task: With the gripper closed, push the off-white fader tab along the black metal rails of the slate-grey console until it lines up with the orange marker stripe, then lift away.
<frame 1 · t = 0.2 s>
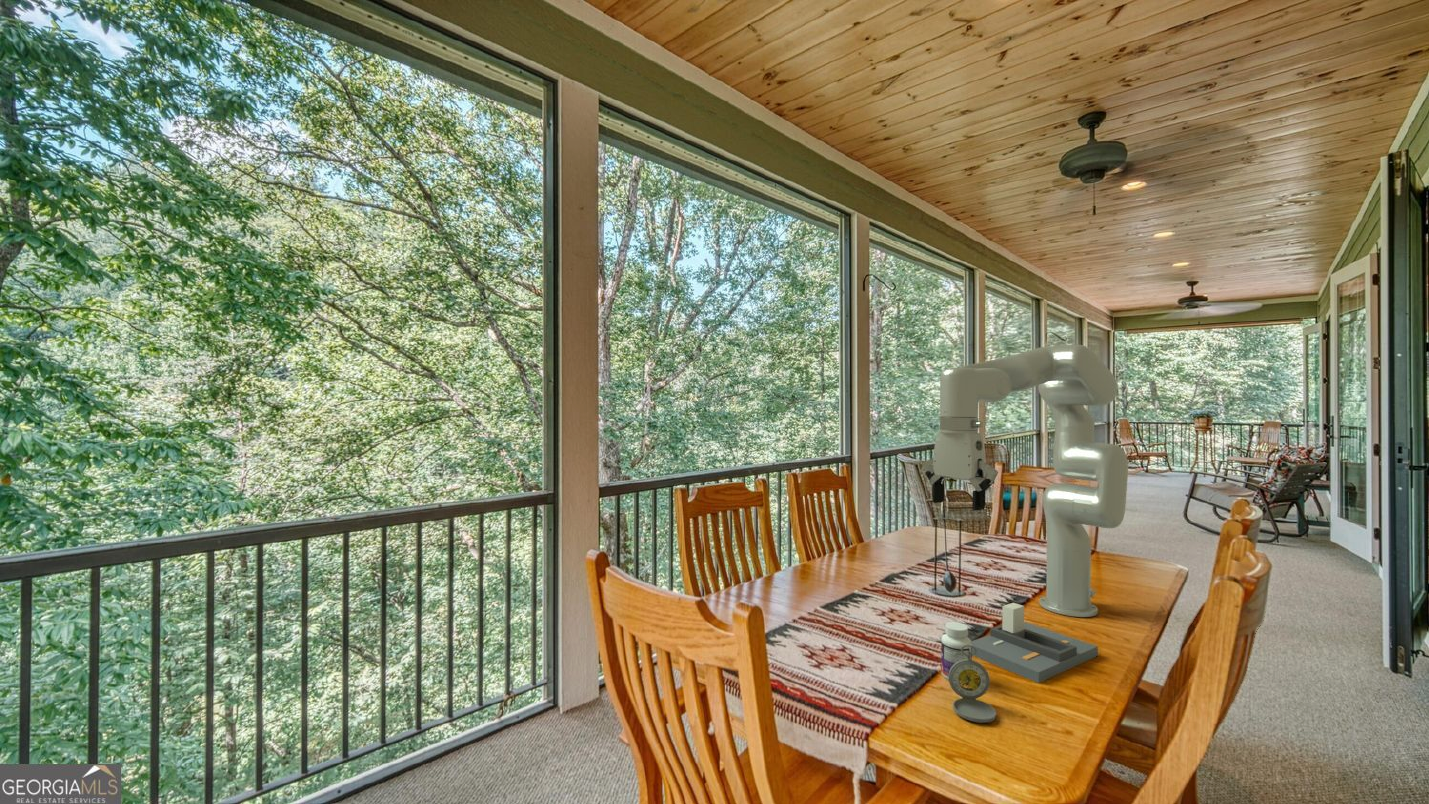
hand: (957, 505, 122), 30 cm above the table, tool pointing down, fingers open, 9 cm apart
console: (1031, 654, 119), on the table
fader: (1013, 621, 122), point 6 cm above the table, slide at -4.0 cm
pocket watch: (973, 711, 97), on the table
pill bottle: (956, 677, 109), on the table
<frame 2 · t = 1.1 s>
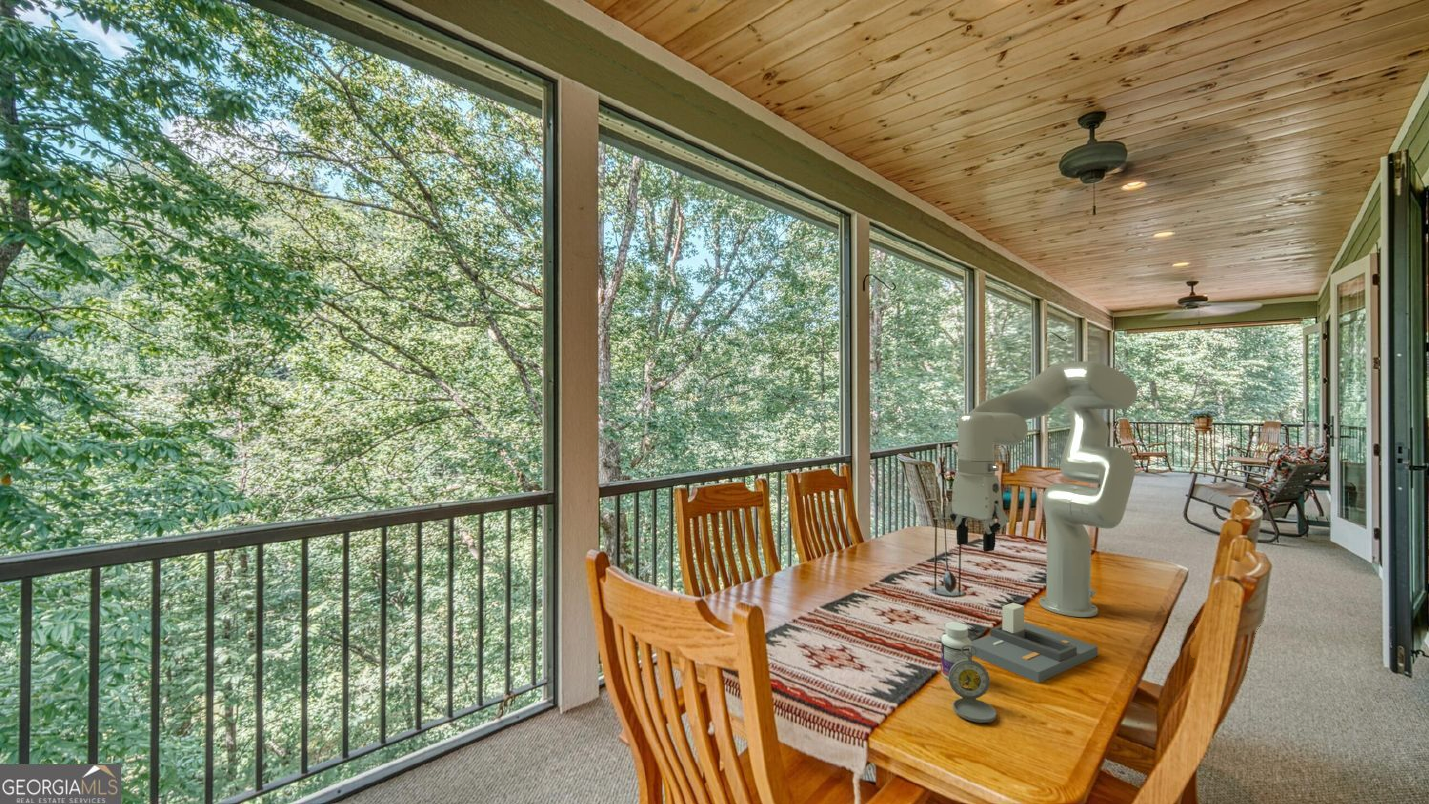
hand: (975, 546, 130), 20 cm above the table, tool pointing down, fingers open, 5 cm apart
nothing on the table moved.
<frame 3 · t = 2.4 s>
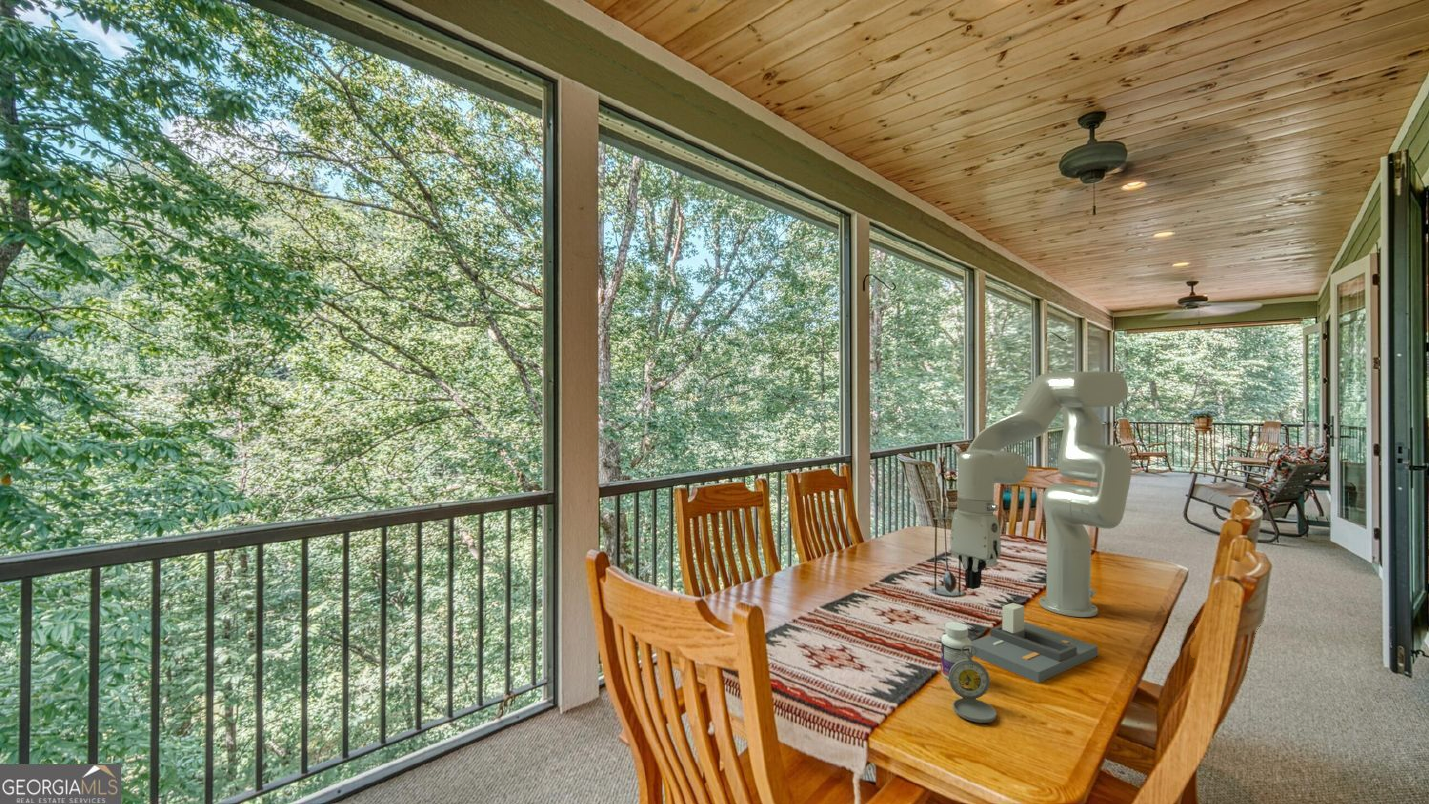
hand: (972, 587, 130), 10 cm above the table, tool pointing down, fingers closed
nothing on the table moved.
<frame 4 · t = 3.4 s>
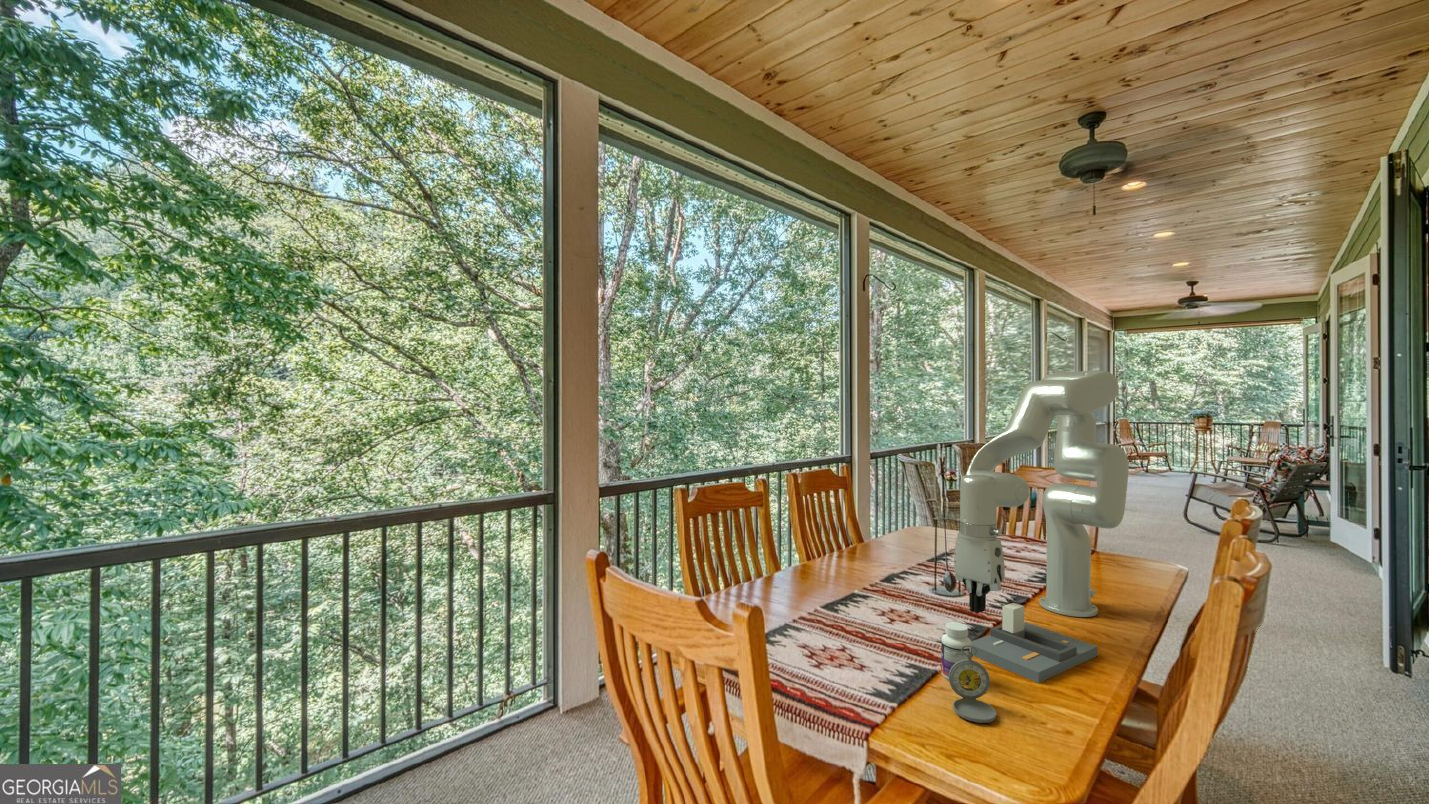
hand: (977, 610, 130), 5 cm above the table, tool pointing down, fingers closed
nothing on the table moved.
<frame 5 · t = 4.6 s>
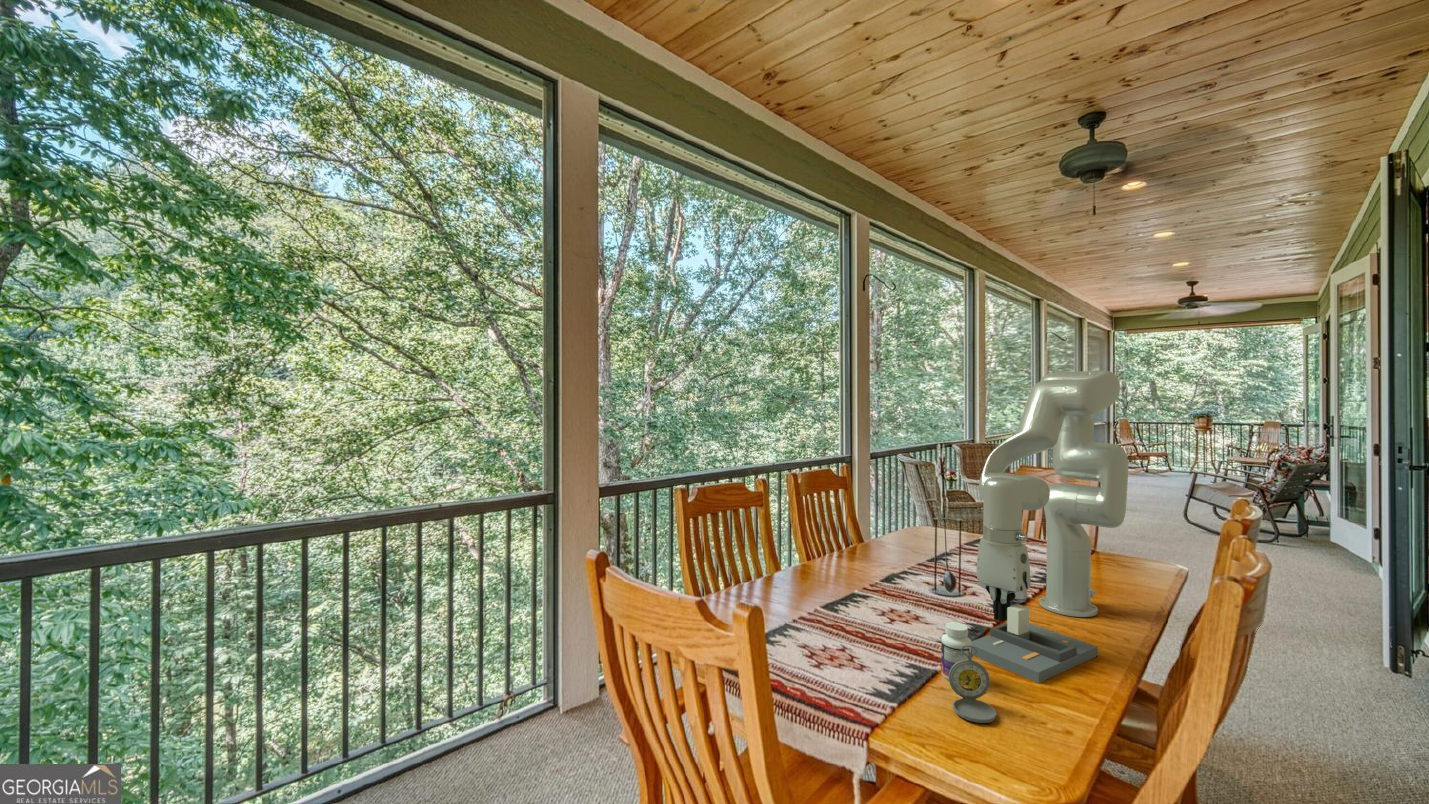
hand: (1001, 619, 125), 5 cm above the table, tool pointing down, fingers closed
fader: (1018, 623, 122), point 6 cm above the table, slide at -2.9 cm, touching gripper
everything else where it was.
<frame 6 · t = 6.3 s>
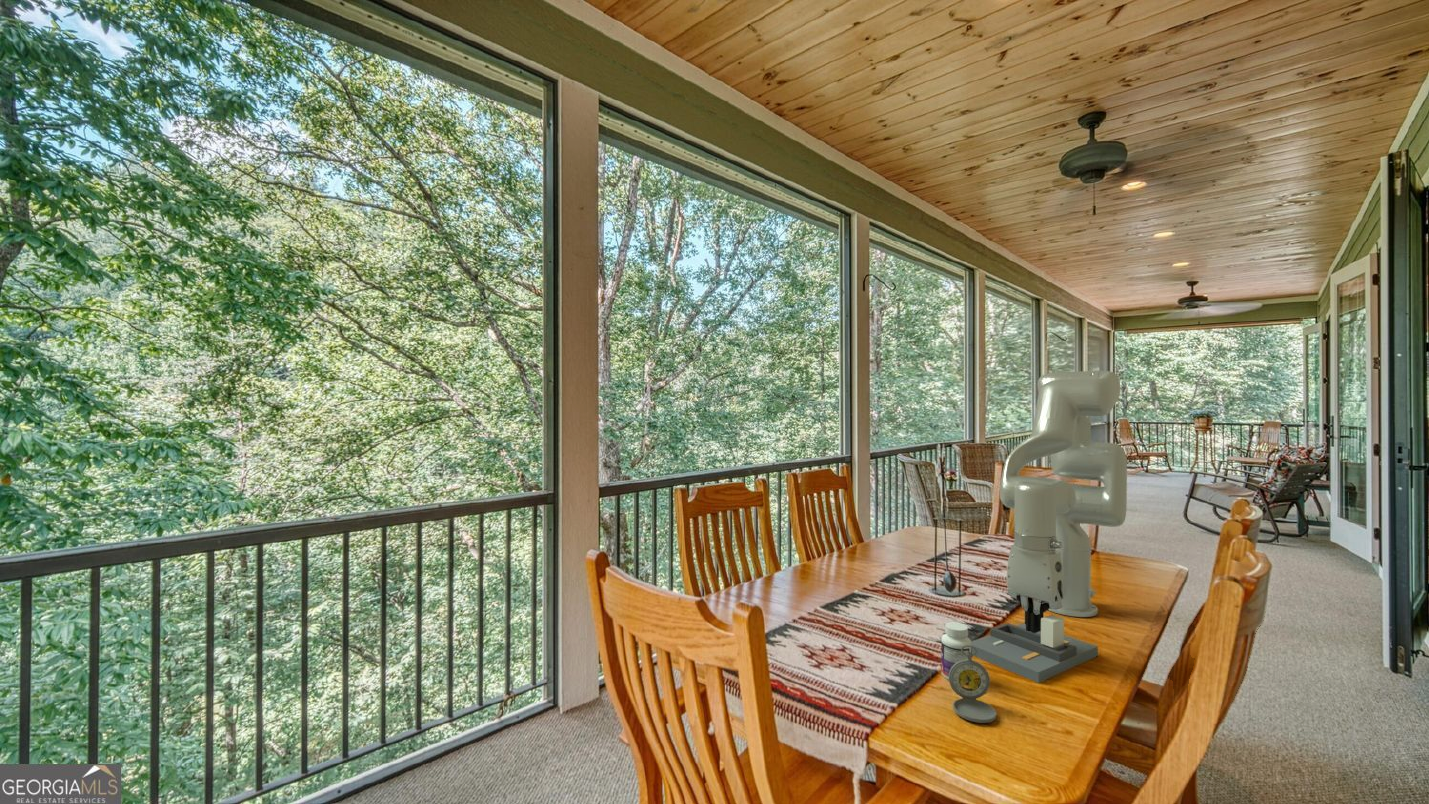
hand: (1033, 630, 119), 5 cm above the table, tool pointing down, fingers closed
fader: (1052, 634, 116), point 6 cm above the table, slide at 4.1 cm, touching gripper
everything else where it was.
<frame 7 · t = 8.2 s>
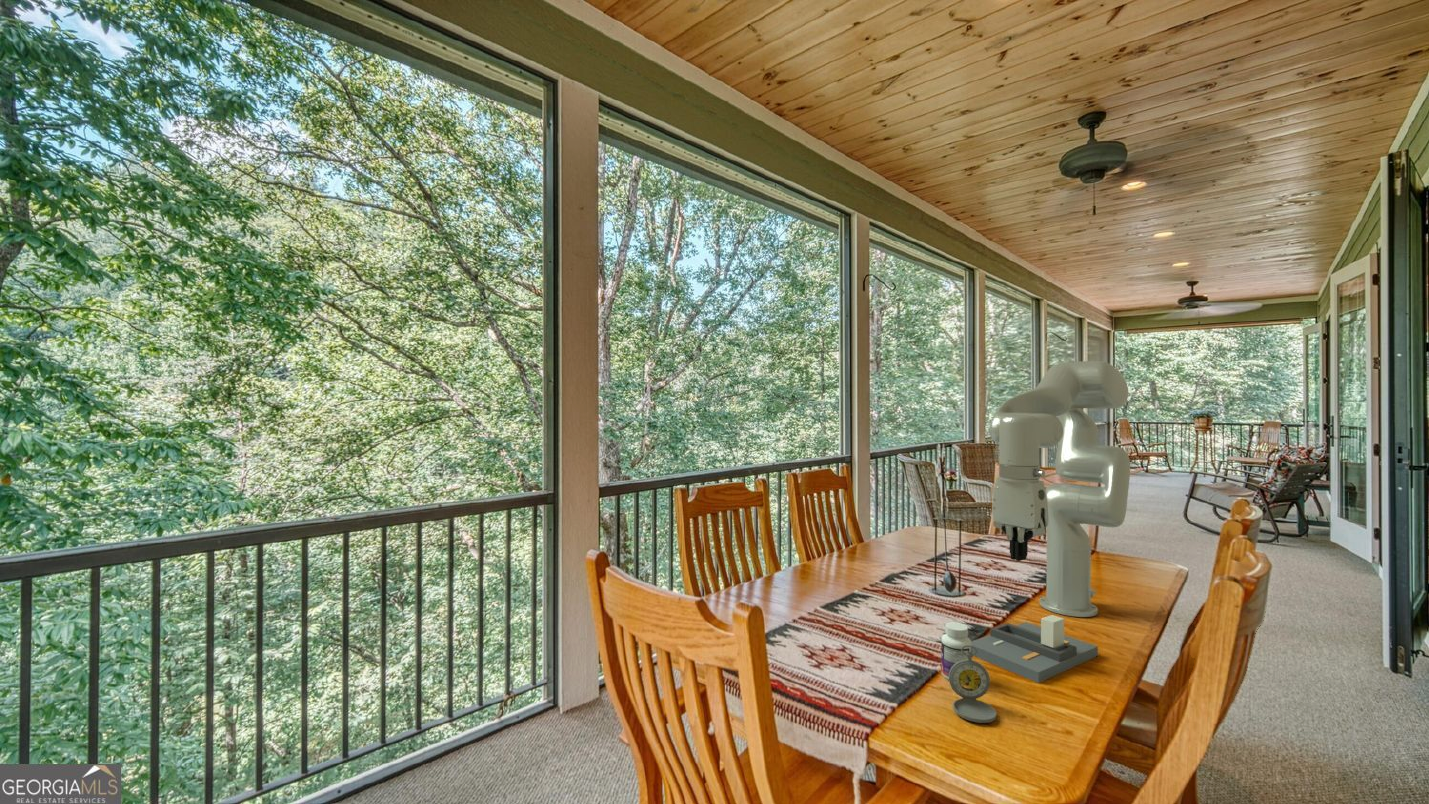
hand: (1018, 559, 122), 19 cm above the table, tool pointing down, fingers closed
fader: (1052, 634, 115), point 6 cm above the table, slide at 4.2 cm
everything else where it was.
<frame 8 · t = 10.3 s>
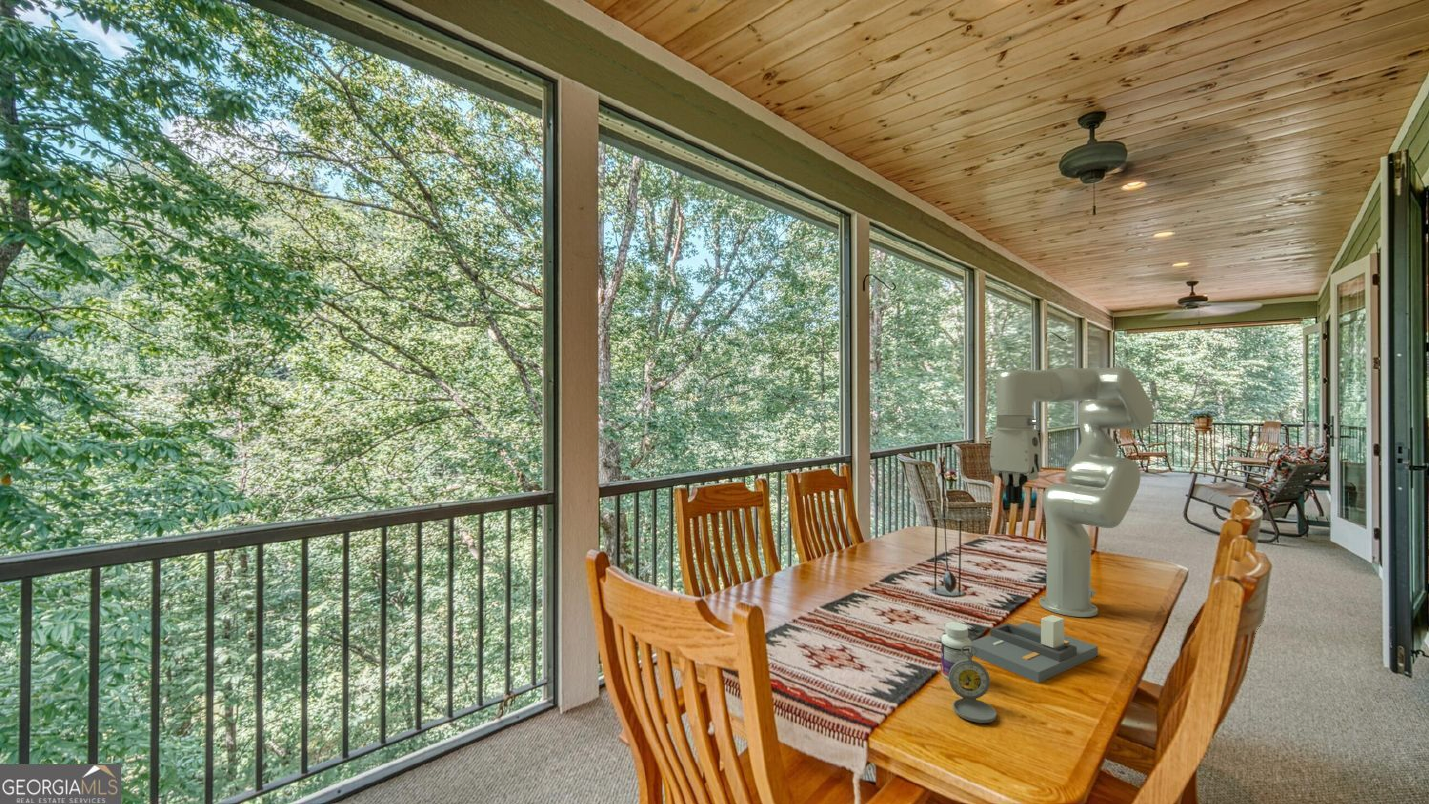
hand: (1013, 502, 133), 29 cm above the table, tool pointing down, fingers closed
nothing on the table moved.
at the end: fader slide at 4.2 cm; pill bottle moved 0.2 cm from its start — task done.
